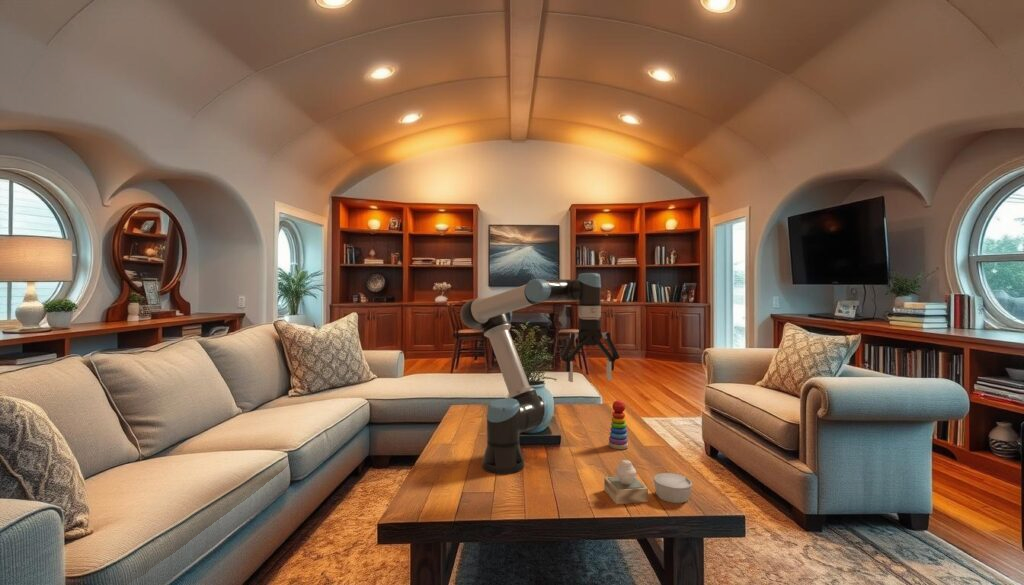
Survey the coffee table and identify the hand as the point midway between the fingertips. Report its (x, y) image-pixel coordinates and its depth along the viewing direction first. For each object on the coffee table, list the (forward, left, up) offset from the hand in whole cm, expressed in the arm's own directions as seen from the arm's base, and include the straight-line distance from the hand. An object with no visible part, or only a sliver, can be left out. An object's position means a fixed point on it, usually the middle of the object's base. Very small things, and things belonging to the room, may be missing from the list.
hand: (589, 380), depth 158 cm
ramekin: (+20, -19, -33) cm, 43 cm away
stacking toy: (+21, +27, -33) cm, 47 cm away
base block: (+6, -16, -33) cm, 37 cm away
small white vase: (+6, -16, -29) cm, 34 cm away
